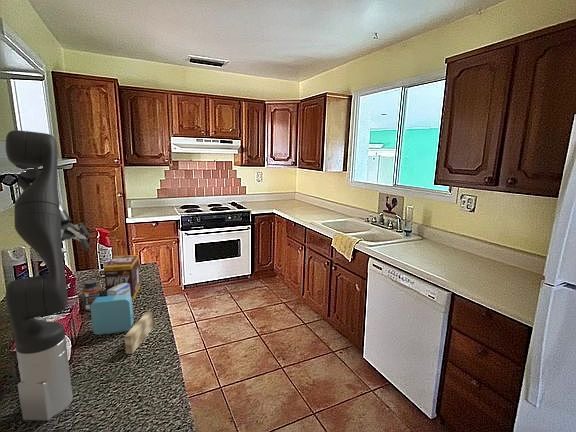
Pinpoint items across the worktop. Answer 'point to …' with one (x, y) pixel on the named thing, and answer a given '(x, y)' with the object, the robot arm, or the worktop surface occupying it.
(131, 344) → the birch board
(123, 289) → the medicine box
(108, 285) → the supplement box
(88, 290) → the supplement bottle
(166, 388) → the worktop surface
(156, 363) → the worktop surface
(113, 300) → the blue rounded block
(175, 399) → the worktop surface
